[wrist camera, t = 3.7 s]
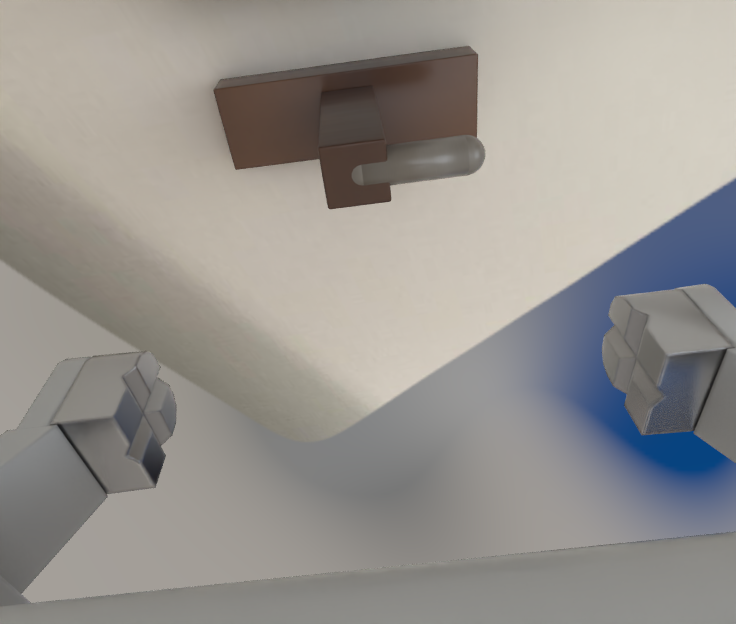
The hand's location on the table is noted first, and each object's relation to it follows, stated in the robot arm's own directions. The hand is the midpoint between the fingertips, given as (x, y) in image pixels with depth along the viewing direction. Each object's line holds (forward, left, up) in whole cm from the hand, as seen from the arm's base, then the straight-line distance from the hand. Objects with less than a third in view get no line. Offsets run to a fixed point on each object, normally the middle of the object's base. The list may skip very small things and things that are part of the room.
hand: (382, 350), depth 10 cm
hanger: (0, 0, -16) cm, 16 cm away
